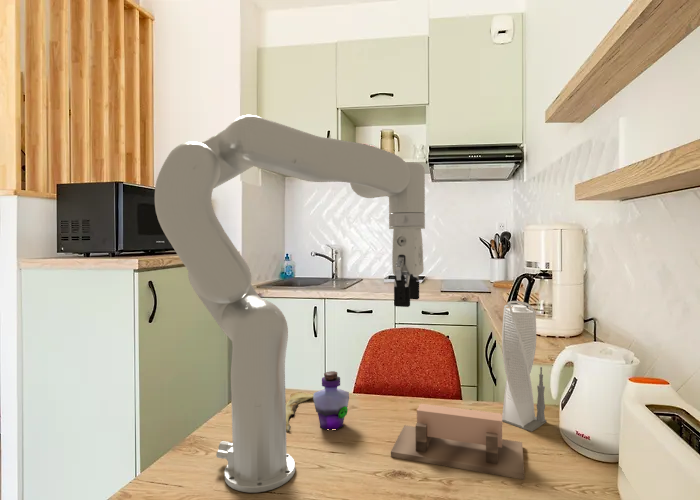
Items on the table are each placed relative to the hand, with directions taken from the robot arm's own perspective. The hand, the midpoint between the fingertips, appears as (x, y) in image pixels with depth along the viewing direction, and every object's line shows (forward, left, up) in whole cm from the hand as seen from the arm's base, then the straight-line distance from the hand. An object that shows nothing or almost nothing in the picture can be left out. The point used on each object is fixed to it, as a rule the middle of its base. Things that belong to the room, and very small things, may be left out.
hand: (407, 302), depth 93 cm
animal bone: (-28, +2, -29) cm, 40 cm away
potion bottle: (-17, -2, -28) cm, 33 cm away
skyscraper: (+23, +13, -28) cm, 39 cm away
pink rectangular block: (+11, -5, -25) cm, 28 cm away
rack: (+11, -5, -28) cm, 31 cm away
